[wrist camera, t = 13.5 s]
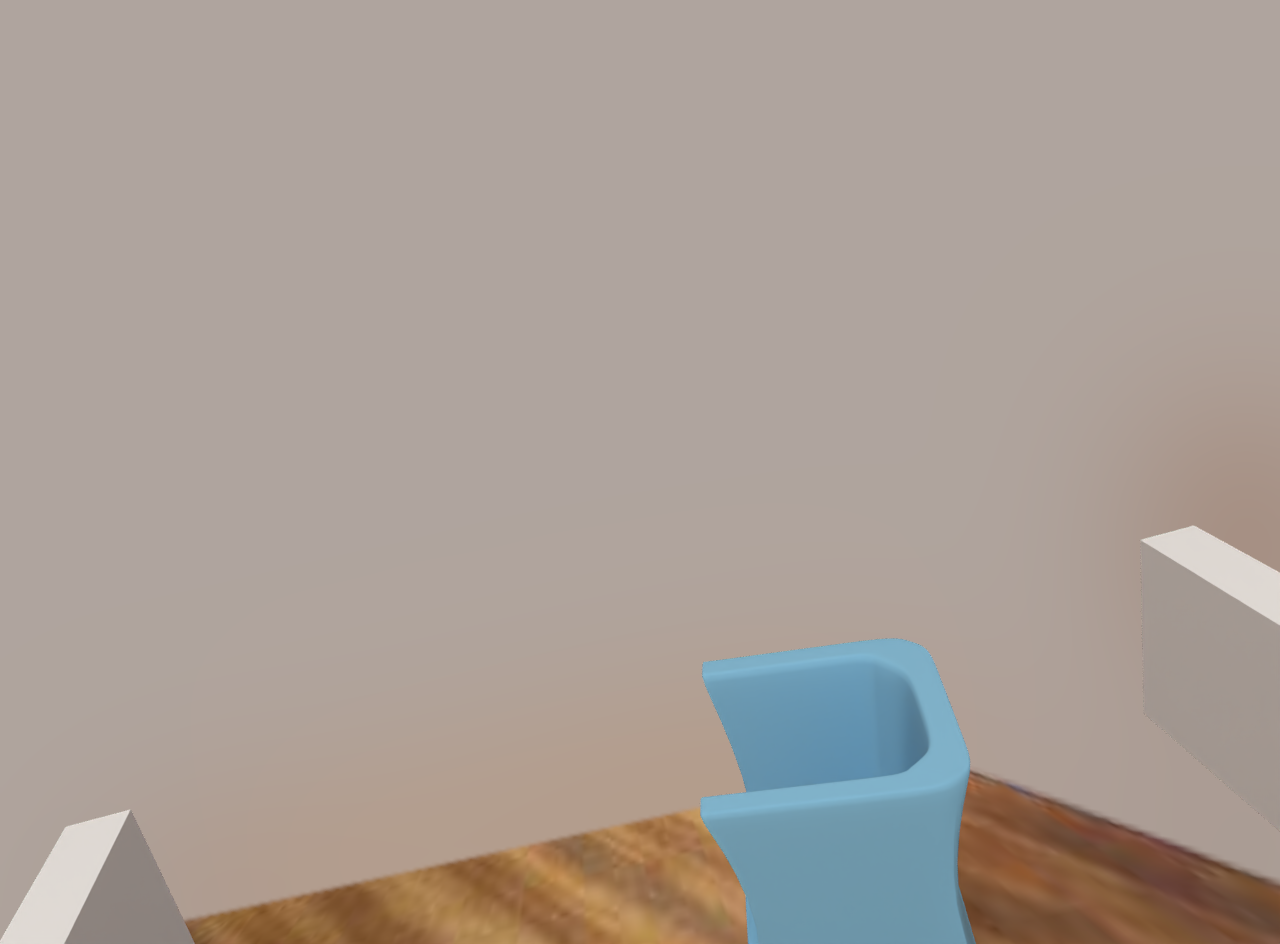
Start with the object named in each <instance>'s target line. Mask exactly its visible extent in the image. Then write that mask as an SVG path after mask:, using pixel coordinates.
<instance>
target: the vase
mask: <svg viewBox="0 0 1280 944" xmlns="http://www.w3.org/2000/svg"><path fill="white" fill-rule="evenodd" d="M702 675H703V676H702V677H703V680H704V683H705V686H706V688H707V690H708V693H709V695H710V697H711V700H712V701H713V704H714V706H715V709H716V710H717V713H718V715H719V717H720V720H721V722H722V724H723V726H724V729H725V732H726V734H727V736H728V739H729V741H730V744H731V746H732V749H733V751H734V754H735V757H736V760H737V762H738V765H739V768H740V771H741V774H742V777H743V781H744V784H745V788H746V792H745V793H736V794H727V795H719V796H711V797H702V798H701V818H702V820H703V822H704V824H705V825H706V827H707V829H708V830H709V832H710V833H711V835H712V836H713V838H714V839H715V841H716V842H717V844H718V845H719V847H720V848H721V850H722V851H723V853H724V854H725V856H726V858H727V860H728V861H729V863H730V865H731V866H732V868H733V870H734V872H735V873H736V875H737V878H738V880H739V882H740V884H741V886H742V888H743V891H744V893H745V895H746V913H747V932H748V944H976V943H975V939H974V936H973V933H972V930H971V926H970V923H969V919H968V916H967V913H966V909H965V906H964V902H963V899H962V895H961V892H960V889H959V885H958V865H957V858H958V844H959V831H960V824H961V817H962V811H963V804H964V799H965V794H966V789H967V784H968V778H969V773H970V758H969V753H968V750H967V747H966V744H965V742H964V739H963V736H962V734H961V731H960V728H959V726H958V723H957V720H956V718H955V715H954V713H953V710H952V707H951V705H950V702H949V699H948V697H947V694H946V691H945V689H944V686H943V684H942V681H941V679H940V676H939V673H938V671H937V668H936V666H935V663H934V661H933V659H932V657H931V655H930V654H929V652H928V651H927V650H926V649H925V648H924V647H922V646H921V645H919V644H916V643H913V642H910V641H907V640H903V639H876V640H868V641H859V642H851V643H843V644H836V645H828V646H821V647H814V648H806V649H798V650H791V651H784V652H777V653H769V654H762V655H754V656H746V657H739V658H732V659H724V660H716V661H709V662H704V663H703V671H702Z"/></svg>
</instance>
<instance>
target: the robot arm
mask: <svg viewBox="0 0 1280 944" xmlns="http://www.w3.org/2000/svg"><path fill="white" fill-rule="evenodd" d="M1140 542H1141V543H1140V544H1141V596H1142V647H1143V648H1142V649H1143V699H1144V700H1143V702H1144V714H1145V715H1146V716H1147V717H1148V718H1149V719H1150V720H1152V721H1153V722H1154V723H1155V724H1156V725H1157V726H1159V727H1160V728H1161V729H1162V730H1163V731H1164V732H1166V733H1167V734H1168V735H1169V736H1170V737H1171V738H1172V739H1174V740H1175V741H1176V742H1177V743H1178V744H1179V745H1180V746H1182V747H1183V748H1184V749H1185V750H1186V751H1187V752H1189V753H1190V754H1191V755H1192V756H1193V757H1194V758H1195V759H1197V760H1198V761H1199V762H1200V763H1201V764H1202V765H1204V766H1205V767H1206V768H1207V769H1208V770H1209V771H1210V772H1212V773H1213V774H1214V775H1215V776H1216V777H1217V778H1219V779H1220V780H1221V781H1222V782H1223V783H1224V784H1226V785H1227V786H1228V787H1229V788H1230V789H1231V790H1232V791H1234V792H1235V793H1236V794H1237V795H1238V796H1239V797H1240V798H1242V799H1243V800H1244V801H1245V802H1246V803H1248V805H1250V806H1251V807H1252V808H1253V809H1254V810H1256V811H1257V812H1258V813H1259V814H1260V815H1261V816H1263V818H1265V819H1266V820H1267V821H1268V822H1269V823H1270V824H1272V825H1273V826H1274V827H1275V828H1276V829H1278V831H1280V573H1279V572H1278V571H1276V570H1274V569H1272V568H1270V567H1269V566H1267V565H1265V564H1263V563H1261V562H1259V561H1257V560H1256V559H1254V558H1252V557H1250V556H1248V555H1247V554H1245V553H1243V552H1241V551H1239V550H1237V549H1236V548H1234V547H1232V546H1230V545H1228V544H1226V543H1225V542H1223V541H1221V540H1219V539H1217V538H1216V537H1213V536H1212V535H1210V534H1208V533H1207V532H1205V531H1203V530H1201V529H1199V528H1197V527H1196V526H1191V527H1187V528H1183V529H1180V530H1176V531H1172V532H1169V533H1165V534H1161V535H1157V536H1153V537H1150V538H1146V539H1142V540H1140ZM0 944H195V943H194V941H193V939H192V937H191V935H190V932H189V930H188V928H187V926H186V924H185V922H184V920H183V918H182V916H181V914H180V912H179V909H178V907H177V906H176V903H175V901H174V899H173V897H172V895H171V893H170V891H169V889H168V887H167V885H166V883H165V880H164V878H163V876H162V874H161V872H160V870H159V868H158V866H157V864H156V861H155V859H154V857H153V855H152V853H151V851H150V849H149V847H148V845H147V843H146V841H145V838H144V836H143V834H142V832H141V830H140V828H139V826H138V824H137V822H136V820H135V818H134V816H133V813H132V811H131V810H127V811H123V812H120V813H115V814H112V815H108V816H104V817H100V818H97V819H93V820H89V821H86V822H82V823H78V824H74V825H71V826H67V827H65V829H64V831H63V833H62V834H61V836H60V838H59V839H58V841H57V843H56V845H55V846H54V848H53V850H52V852H51V853H50V855H49V857H48V859H47V860H46V862H45V864H44V866H43V867H42V869H41V871H40V872H39V874H38V876H37V878H36V879H35V881H34V883H33V885H32V886H31V888H30V890H29V892H28V893H27V895H26V897H25V899H24V900H23V902H22V904H21V906H20V907H19V909H18V911H17V912H16V914H15V916H14V918H13V920H12V921H11V923H10V925H9V926H8V928H7V930H6V932H5V933H4V935H3V937H2V939H1V940H0Z"/></svg>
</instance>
